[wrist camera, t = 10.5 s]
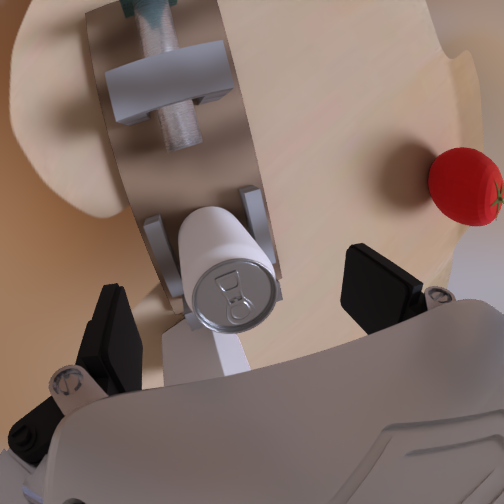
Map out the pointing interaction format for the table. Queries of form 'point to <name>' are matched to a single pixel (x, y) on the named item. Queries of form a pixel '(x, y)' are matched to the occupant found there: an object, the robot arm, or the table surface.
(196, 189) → the base plate with brackets
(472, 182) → the tomato
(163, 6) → the shaft
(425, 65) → the table surface
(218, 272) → the can
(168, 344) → the milk carton
